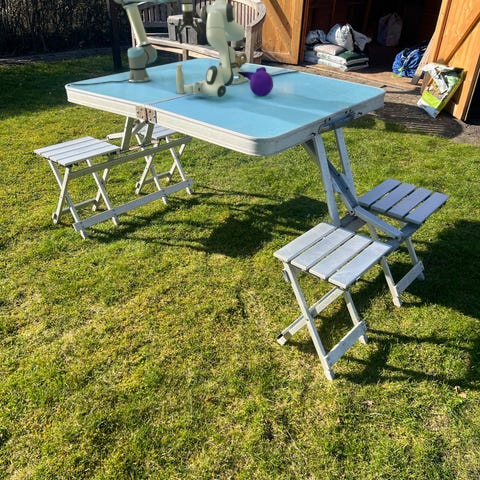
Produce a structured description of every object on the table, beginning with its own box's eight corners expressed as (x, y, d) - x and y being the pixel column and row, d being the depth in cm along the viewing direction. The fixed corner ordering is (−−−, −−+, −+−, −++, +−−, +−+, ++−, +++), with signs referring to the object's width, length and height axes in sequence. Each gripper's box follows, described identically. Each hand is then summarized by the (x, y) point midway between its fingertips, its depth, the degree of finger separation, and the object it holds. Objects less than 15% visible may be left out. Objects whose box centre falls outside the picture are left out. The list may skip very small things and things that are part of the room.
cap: (182, 67, 296) (181, 64, 295) (182, 68, 293) (182, 65, 292) (176, 68, 296) (175, 64, 294) (176, 69, 292) (175, 65, 291)
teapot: (227, 72, 361) (226, 52, 354) (220, 70, 370) (219, 51, 362) (250, 70, 371) (249, 50, 363) (242, 68, 379) (242, 48, 372)
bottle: (184, 91, 304) (182, 64, 296) (185, 93, 300) (182, 65, 291) (177, 92, 304) (175, 64, 295) (177, 93, 300) (175, 66, 291)
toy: (257, 88, 307) (273, 101, 287) (234, 84, 300) (248, 97, 279) (264, 65, 299) (280, 76, 279) (240, 59, 292) (255, 71, 271)
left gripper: (206, 10, 313) (207, 43, 324) (173, 10, 320) (176, 42, 331) (201, 11, 307) (203, 45, 318) (169, 11, 314) (171, 44, 325)
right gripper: (216, 79, 288) (202, 77, 297) (192, 85, 276) (178, 82, 284) (217, 89, 292) (203, 87, 300) (193, 95, 279) (179, 92, 288)
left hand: (189, 43), depth 324 cm, fingers open, 13 cm apart
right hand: (190, 84), depth 292 cm, fingers open, 8 cm apart
